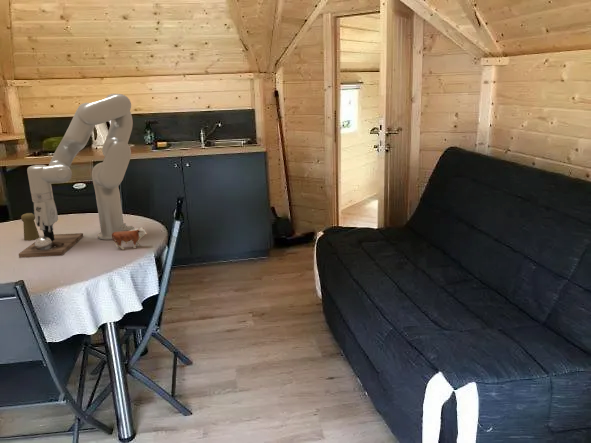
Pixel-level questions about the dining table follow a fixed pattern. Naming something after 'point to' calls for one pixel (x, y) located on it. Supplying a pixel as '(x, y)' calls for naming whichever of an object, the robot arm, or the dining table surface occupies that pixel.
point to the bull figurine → (128, 237)
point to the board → (61, 243)
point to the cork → (29, 227)
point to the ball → (43, 243)
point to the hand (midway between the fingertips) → (49, 240)
